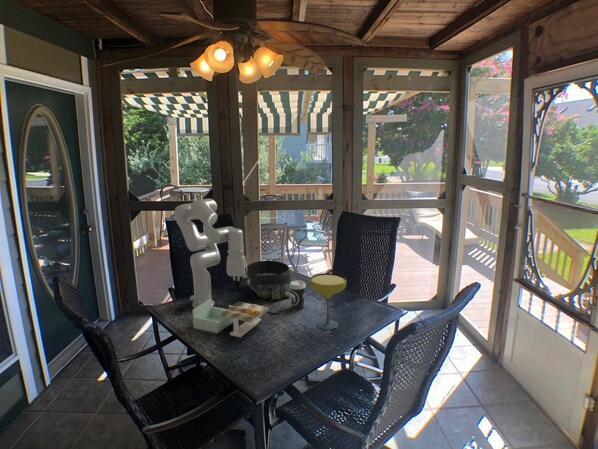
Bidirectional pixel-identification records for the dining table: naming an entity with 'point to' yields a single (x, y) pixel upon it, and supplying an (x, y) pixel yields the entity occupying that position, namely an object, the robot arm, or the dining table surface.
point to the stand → (242, 327)
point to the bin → (210, 318)
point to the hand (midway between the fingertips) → (238, 287)
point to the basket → (269, 279)
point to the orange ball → (250, 311)
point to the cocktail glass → (328, 292)
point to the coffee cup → (297, 294)
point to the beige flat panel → (244, 311)
